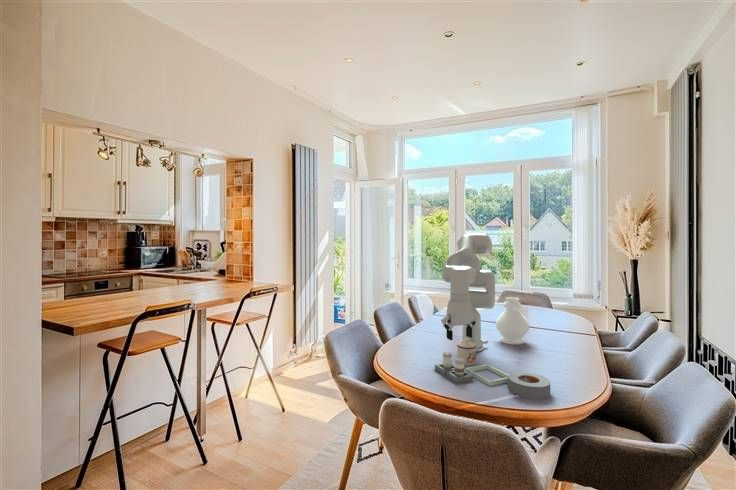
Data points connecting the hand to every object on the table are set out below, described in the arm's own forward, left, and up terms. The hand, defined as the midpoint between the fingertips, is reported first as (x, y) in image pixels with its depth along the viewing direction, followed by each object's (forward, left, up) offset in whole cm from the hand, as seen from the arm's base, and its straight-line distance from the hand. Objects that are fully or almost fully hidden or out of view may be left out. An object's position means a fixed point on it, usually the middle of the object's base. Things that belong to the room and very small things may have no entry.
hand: (459, 338), depth 151 cm
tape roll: (-19, +18, -19) cm, 32 cm away
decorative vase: (-62, -36, -18) cm, 74 cm away
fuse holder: (0, -5, -18) cm, 19 cm away
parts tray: (-13, +2, -18) cm, 22 cm away
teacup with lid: (-17, -17, -18) cm, 30 cm away
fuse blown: (0, 0, -17) cm, 17 cm away
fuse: (0, -9, -17) cm, 20 cm away
